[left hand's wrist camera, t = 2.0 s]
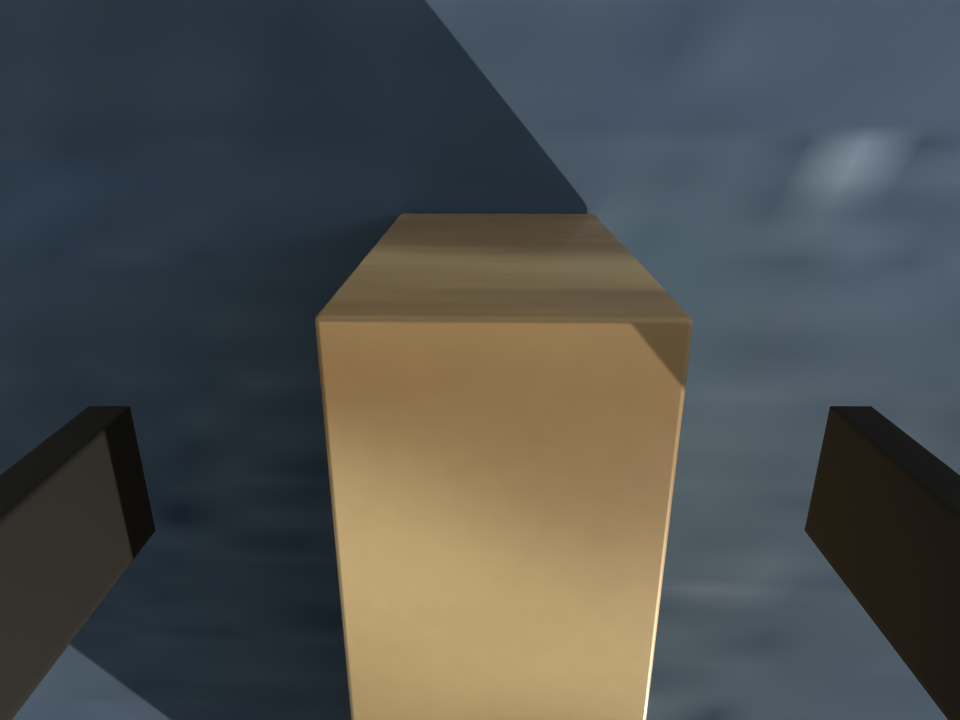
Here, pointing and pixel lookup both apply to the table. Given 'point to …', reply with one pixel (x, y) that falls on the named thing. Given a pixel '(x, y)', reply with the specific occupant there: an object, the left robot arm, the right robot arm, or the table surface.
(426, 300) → the plank
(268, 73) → the table surface
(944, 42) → the table surface
